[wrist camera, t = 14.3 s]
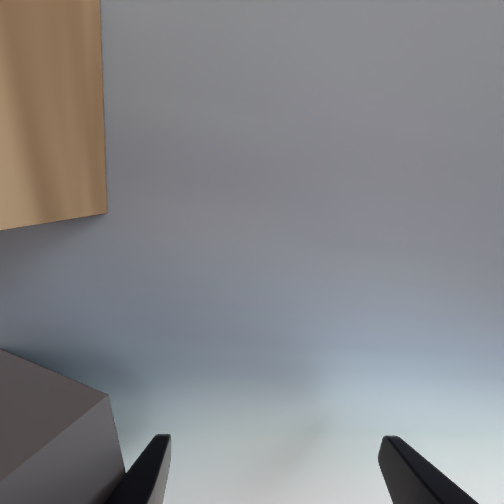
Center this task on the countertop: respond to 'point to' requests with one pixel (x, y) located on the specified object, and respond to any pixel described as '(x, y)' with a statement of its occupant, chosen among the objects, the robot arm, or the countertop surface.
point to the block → (54, 438)
